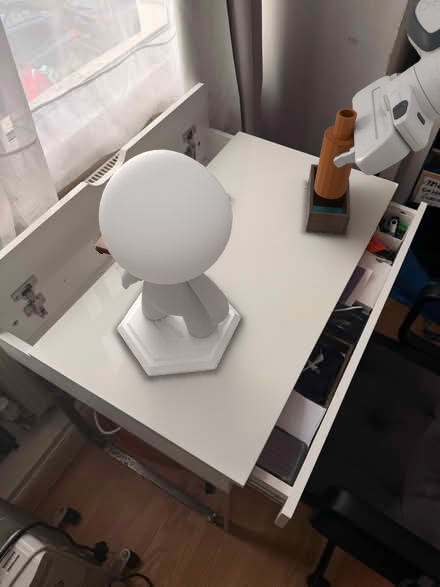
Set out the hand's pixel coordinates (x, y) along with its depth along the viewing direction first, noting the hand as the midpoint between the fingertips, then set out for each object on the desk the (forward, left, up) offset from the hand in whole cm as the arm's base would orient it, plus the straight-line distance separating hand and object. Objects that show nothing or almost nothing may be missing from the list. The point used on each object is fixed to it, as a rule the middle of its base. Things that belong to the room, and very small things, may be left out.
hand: (335, 149), depth 78 cm
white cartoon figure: (+25, +28, -20) cm, 43 cm away
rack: (-2, -7, -20) cm, 22 cm away
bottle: (-1, 0, -9) cm, 9 cm away
